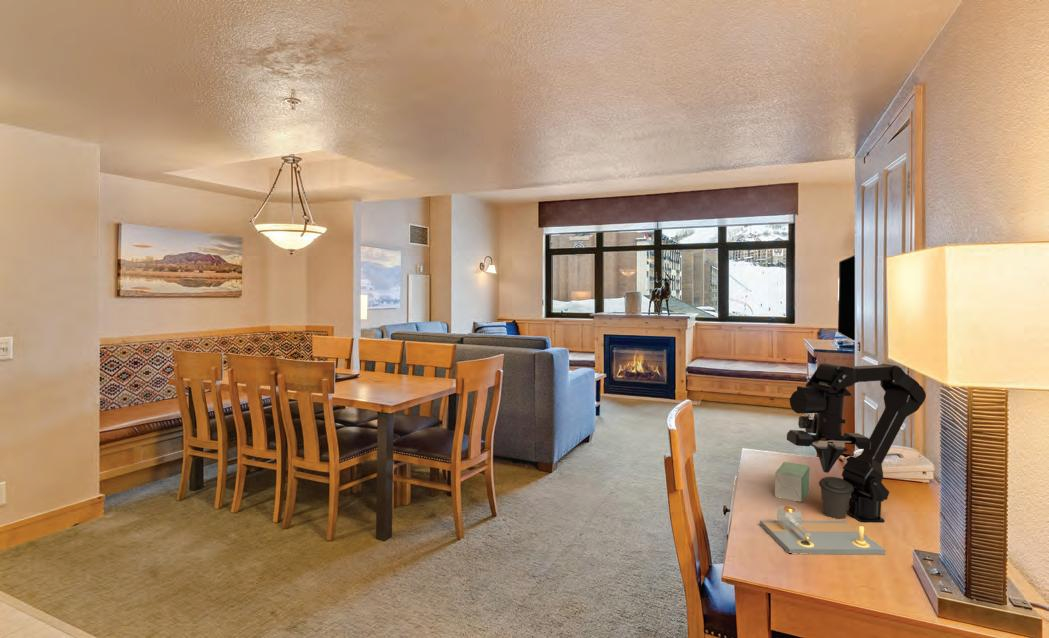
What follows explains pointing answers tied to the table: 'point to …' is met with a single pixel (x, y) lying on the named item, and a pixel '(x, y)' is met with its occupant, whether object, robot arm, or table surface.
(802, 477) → the box
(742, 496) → the table surface
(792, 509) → the white block with bar
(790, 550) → the jig plate
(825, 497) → the coffee cup
